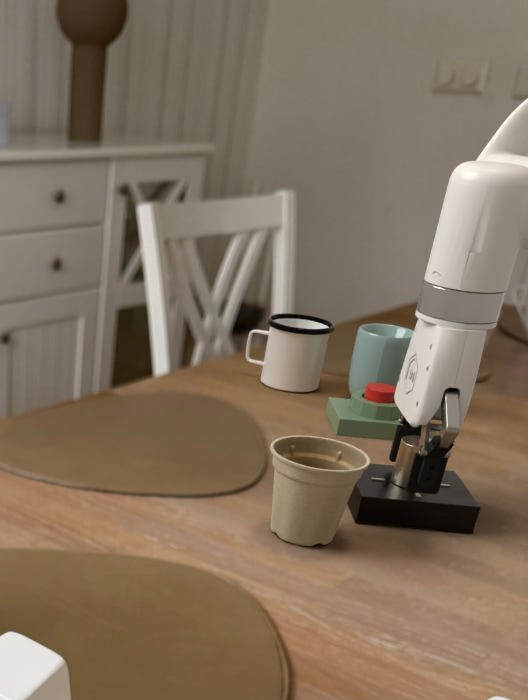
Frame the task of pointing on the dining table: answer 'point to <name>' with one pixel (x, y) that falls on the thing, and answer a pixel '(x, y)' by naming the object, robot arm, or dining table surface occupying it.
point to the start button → (380, 393)
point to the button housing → (362, 417)
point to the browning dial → (405, 459)
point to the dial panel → (412, 503)
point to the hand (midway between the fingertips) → (412, 475)
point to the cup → (378, 355)
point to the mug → (293, 351)
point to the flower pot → (312, 486)
